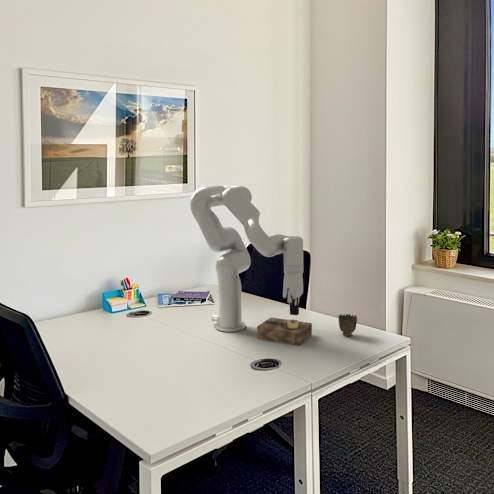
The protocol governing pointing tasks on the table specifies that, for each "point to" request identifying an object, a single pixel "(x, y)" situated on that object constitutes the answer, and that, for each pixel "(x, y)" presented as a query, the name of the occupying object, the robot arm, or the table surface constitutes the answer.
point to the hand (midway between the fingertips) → (294, 314)
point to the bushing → (292, 323)
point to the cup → (347, 324)
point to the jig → (284, 331)
